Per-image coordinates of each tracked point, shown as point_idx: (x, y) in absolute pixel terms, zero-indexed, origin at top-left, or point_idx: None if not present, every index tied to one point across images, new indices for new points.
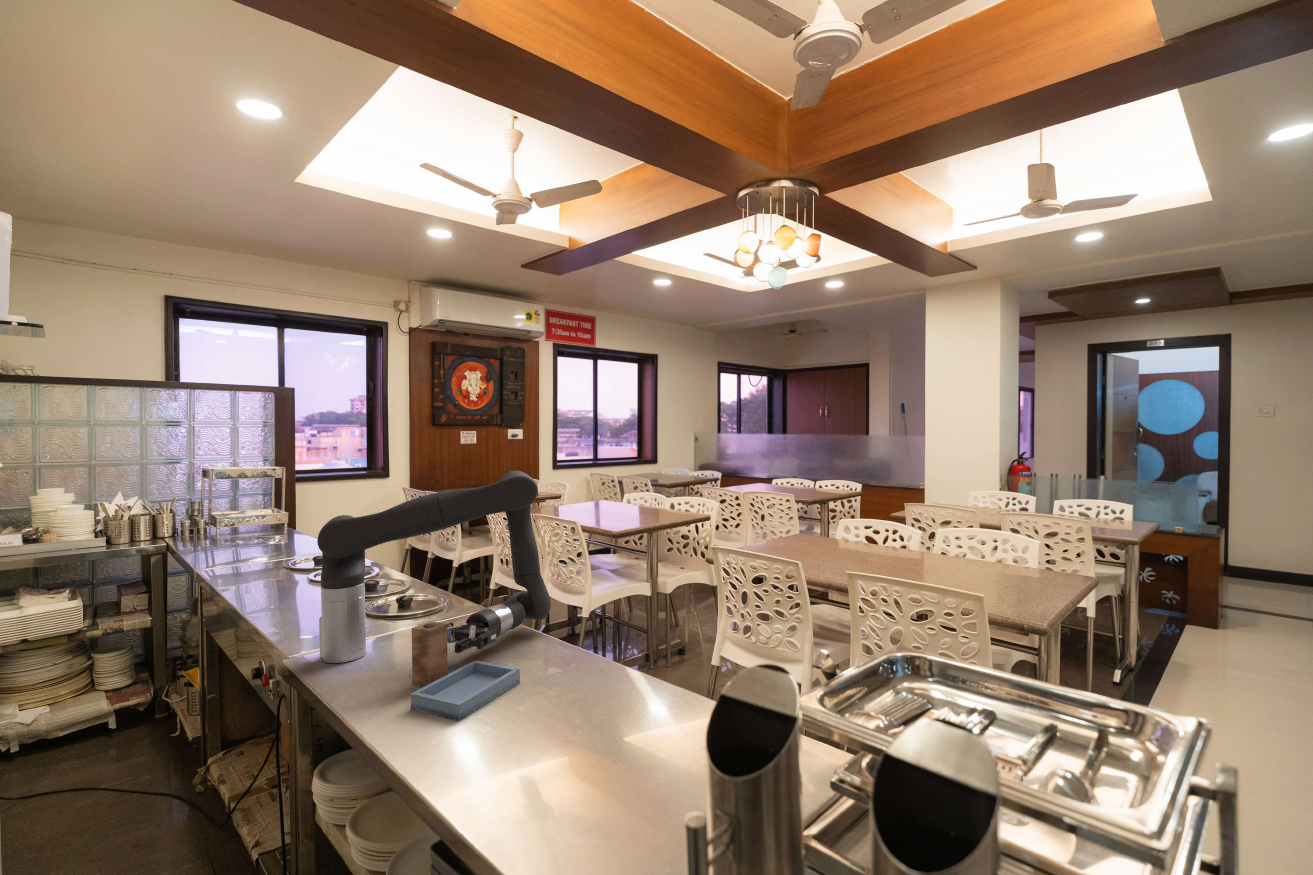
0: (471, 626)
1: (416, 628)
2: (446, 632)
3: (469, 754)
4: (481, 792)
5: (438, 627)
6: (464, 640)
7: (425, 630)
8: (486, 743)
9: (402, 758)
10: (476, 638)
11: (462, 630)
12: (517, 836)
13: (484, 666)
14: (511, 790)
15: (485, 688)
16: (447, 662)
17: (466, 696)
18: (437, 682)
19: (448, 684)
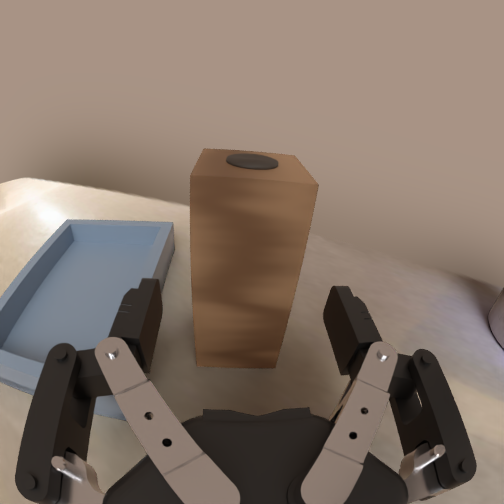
0: (206, 466)
1: (273, 154)
2: (191, 216)
3: (46, 212)
4: (32, 194)
5: (198, 161)
6: (130, 309)
7: (223, 149)
8: (31, 224)
9: (112, 197)
10: (92, 372)
11: (276, 442)
12: (12, 185)
13: None
14: (12, 199)
15: (32, 259)
16: (194, 327)
17: (77, 277)
18: (147, 256)
19: None
